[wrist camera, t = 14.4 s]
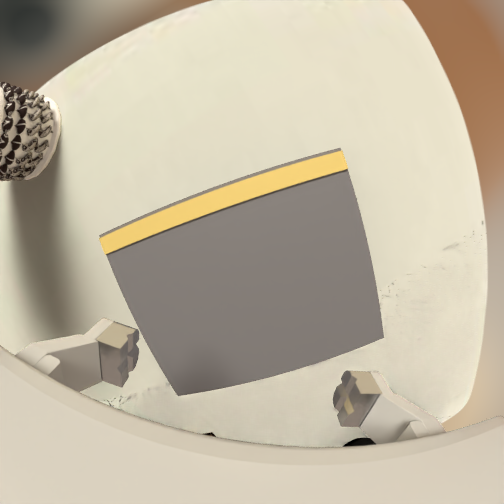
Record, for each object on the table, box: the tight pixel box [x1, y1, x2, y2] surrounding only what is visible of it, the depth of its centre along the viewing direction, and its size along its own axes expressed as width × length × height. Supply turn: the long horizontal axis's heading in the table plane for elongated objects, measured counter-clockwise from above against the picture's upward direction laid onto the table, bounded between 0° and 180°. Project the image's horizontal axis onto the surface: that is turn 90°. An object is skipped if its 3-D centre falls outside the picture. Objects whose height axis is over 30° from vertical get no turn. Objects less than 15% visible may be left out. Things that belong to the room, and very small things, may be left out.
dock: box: [99, 148, 384, 396], centre depth 19 cm, size 17×14×3 cm
